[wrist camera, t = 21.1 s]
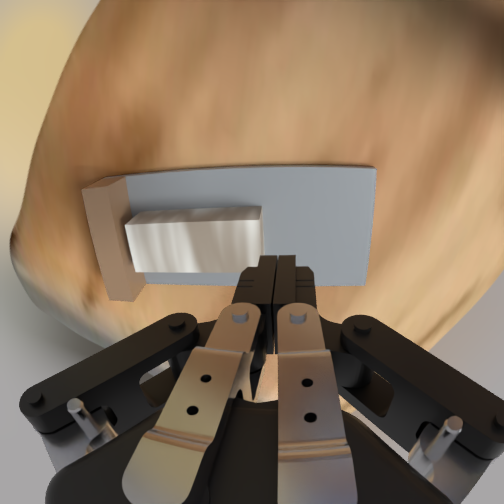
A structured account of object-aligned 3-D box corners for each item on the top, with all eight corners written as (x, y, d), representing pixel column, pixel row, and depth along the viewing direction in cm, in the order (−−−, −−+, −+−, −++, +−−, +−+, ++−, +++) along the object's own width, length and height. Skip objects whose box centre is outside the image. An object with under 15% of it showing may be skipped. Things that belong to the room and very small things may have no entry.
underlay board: (373, 166, 22) (388, 178, 19) (363, 280, 27) (372, 305, 23) (105, 177, 25) (81, 189, 21) (126, 278, 29) (109, 300, 26)
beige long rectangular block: (259, 219, 21) (124, 225, 22) (262, 272, 23) (135, 272, 24) (262, 206, 24) (140, 211, 25) (264, 253, 26) (149, 255, 27)
